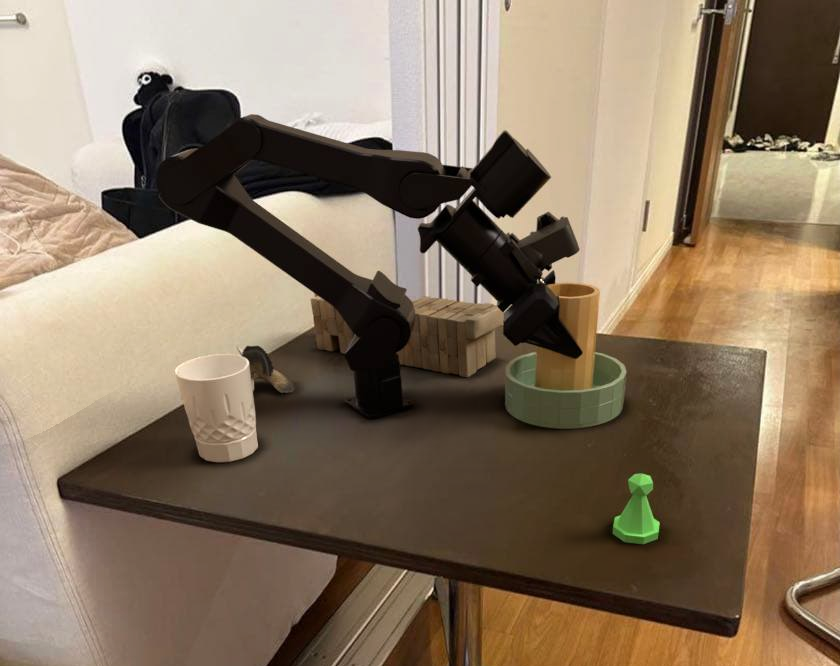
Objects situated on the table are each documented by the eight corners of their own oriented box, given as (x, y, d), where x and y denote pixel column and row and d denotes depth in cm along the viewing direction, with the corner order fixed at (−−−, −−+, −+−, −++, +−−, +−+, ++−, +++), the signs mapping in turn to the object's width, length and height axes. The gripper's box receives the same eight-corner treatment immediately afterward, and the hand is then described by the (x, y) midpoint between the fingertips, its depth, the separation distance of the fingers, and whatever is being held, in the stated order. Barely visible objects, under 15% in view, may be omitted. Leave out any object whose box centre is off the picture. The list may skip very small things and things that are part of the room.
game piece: (667, 542, 70) (675, 483, 67) (619, 546, 70) (625, 487, 67) (650, 517, 74) (658, 460, 71) (605, 521, 74) (610, 464, 70)
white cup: (203, 472, 86) (184, 385, 81) (186, 445, 92) (167, 363, 87) (272, 454, 89) (258, 369, 84) (251, 429, 95) (237, 349, 90)
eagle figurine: (211, 394, 102) (272, 385, 99) (209, 339, 102) (269, 329, 99) (244, 404, 109) (301, 396, 106) (242, 353, 110) (299, 344, 106)
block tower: (310, 353, 119) (476, 380, 104) (301, 297, 115) (473, 317, 100) (343, 337, 125) (505, 361, 110) (336, 283, 120) (503, 300, 105)
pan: (482, 400, 99) (481, 366, 96) (568, 374, 105) (570, 341, 102) (556, 439, 89) (558, 402, 86) (647, 407, 95) (652, 371, 92)
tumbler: (537, 409, 93) (542, 298, 87) (531, 389, 99) (535, 283, 92) (595, 408, 93) (604, 296, 86) (585, 387, 99) (593, 281, 92)
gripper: (539, 210, 76) (643, 321, 81) (534, 178, 92) (622, 273, 97) (459, 293, 81) (562, 393, 86) (467, 250, 97) (554, 337, 102)
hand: (577, 345), depth 93 cm, fingers closed on tumbler, 7 cm apart
